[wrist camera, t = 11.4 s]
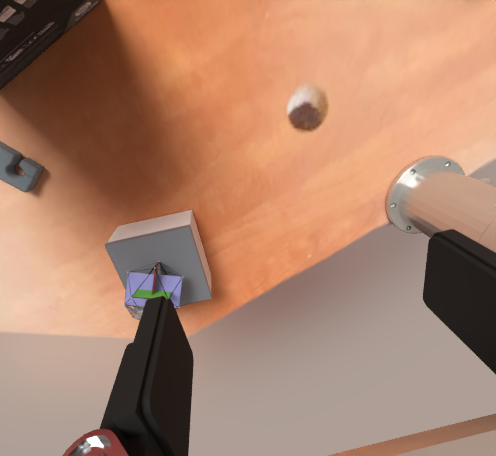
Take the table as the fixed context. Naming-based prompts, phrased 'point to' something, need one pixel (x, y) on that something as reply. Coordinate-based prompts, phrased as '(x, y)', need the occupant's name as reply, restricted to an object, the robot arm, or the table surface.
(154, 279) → the geometric puzzle
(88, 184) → the table surface
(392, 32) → the table surface
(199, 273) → the grey stand
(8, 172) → the bracket
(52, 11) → the graphics card box
